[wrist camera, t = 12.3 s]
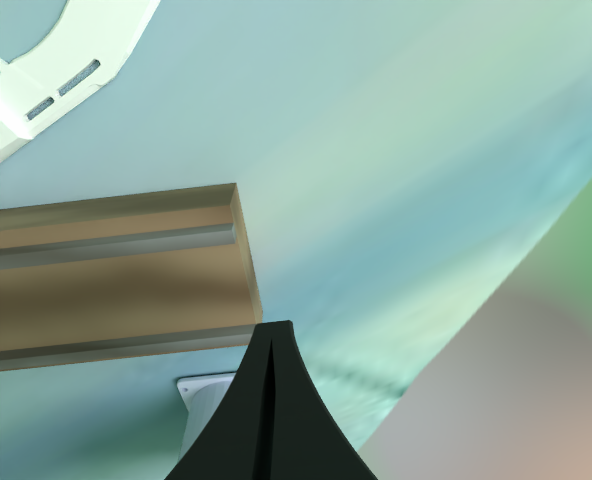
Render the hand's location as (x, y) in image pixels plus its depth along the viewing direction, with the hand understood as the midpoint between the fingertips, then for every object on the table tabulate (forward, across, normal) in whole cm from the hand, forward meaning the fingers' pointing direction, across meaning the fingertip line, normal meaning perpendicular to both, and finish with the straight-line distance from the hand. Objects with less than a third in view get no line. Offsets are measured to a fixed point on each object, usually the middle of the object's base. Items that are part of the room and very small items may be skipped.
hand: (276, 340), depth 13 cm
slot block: (+9, +13, +2) cm, 16 cm away
